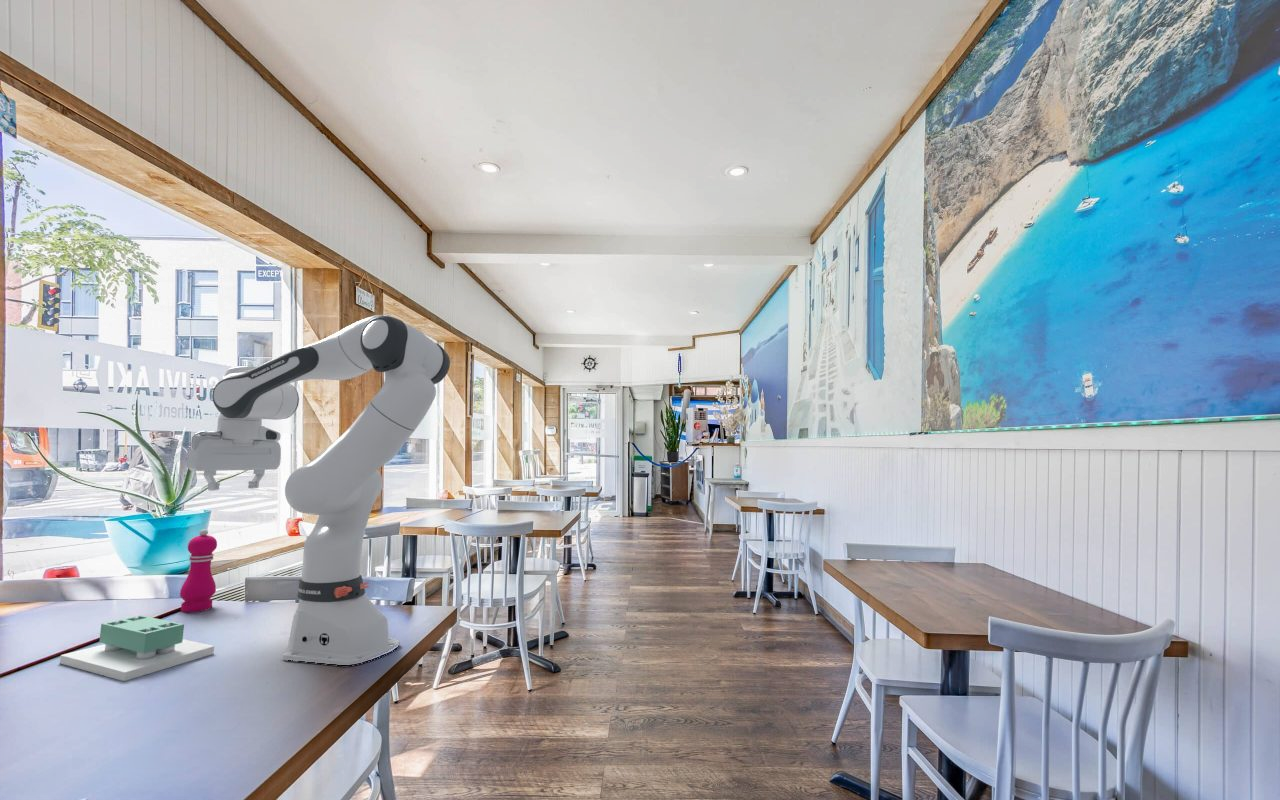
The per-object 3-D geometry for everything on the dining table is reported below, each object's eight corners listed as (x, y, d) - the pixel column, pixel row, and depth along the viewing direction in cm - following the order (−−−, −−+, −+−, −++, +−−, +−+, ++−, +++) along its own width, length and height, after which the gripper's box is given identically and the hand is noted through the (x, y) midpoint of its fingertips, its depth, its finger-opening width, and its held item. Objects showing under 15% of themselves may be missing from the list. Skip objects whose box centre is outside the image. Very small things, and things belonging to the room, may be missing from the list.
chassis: (213, 653, 114) (216, 618, 114) (123, 681, 100) (128, 641, 100) (151, 639, 121) (154, 606, 122) (59, 663, 107) (64, 626, 108)
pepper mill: (194, 614, 140) (202, 531, 141) (170, 611, 141) (178, 530, 143) (221, 606, 147) (228, 528, 149) (198, 604, 148) (205, 526, 150)
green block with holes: (182, 642, 111) (184, 624, 112) (143, 653, 105) (145, 633, 106) (138, 632, 116) (140, 615, 117) (99, 642, 110) (101, 623, 111)
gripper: (201, 430, 128) (195, 492, 126) (286, 434, 147) (282, 487, 145) (183, 430, 130) (177, 491, 129) (269, 433, 149) (265, 486, 148)
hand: (233, 489), depth 137 cm, fingers open, 8 cm apart
